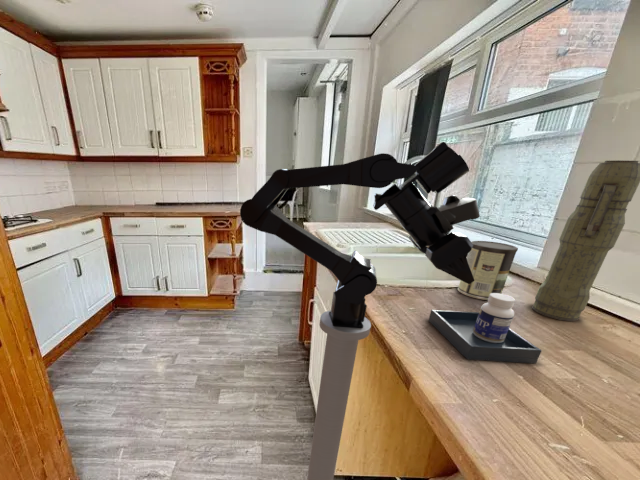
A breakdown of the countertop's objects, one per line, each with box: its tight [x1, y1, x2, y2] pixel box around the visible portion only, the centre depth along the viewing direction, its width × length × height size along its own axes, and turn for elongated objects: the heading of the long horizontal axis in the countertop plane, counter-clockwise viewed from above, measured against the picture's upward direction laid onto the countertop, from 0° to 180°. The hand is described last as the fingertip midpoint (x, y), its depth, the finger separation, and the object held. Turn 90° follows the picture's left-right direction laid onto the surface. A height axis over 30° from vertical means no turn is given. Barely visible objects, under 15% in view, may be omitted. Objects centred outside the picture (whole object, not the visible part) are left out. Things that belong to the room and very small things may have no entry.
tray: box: [428, 309, 543, 364], centre depth 62 cm, size 12×15×3 cm
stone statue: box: [531, 160, 640, 322], centre depth 70 cm, size 9×12×35 cm
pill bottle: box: [473, 293, 516, 343], centre depth 60 cm, size 5×5×9 cm
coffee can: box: [457, 240, 519, 301], centre depth 84 cm, size 10×10×14 cm
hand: (462, 274), depth 58 cm, fingers open, 9 cm apart
